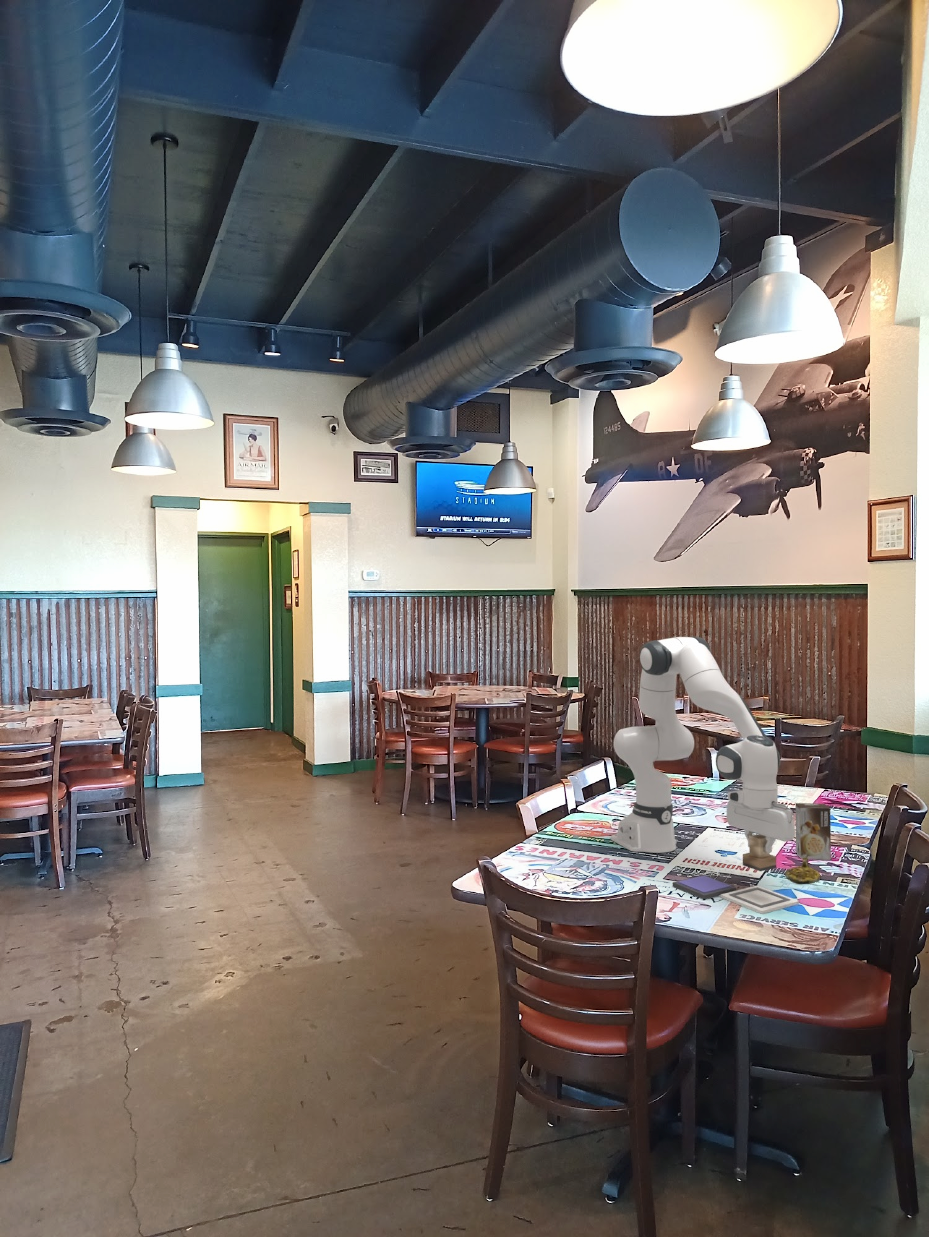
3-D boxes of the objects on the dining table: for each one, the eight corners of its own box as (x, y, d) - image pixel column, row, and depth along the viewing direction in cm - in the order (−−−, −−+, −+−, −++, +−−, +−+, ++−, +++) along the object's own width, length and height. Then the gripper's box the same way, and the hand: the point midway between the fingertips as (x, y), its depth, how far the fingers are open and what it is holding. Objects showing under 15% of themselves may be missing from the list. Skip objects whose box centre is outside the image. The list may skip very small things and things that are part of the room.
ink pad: (672, 886, 243) (672, 881, 243) (704, 879, 249) (704, 874, 249) (704, 899, 233) (704, 894, 233) (736, 891, 239) (736, 886, 239)
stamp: (742, 865, 232) (742, 835, 232) (758, 861, 235) (758, 832, 235) (760, 871, 227) (760, 841, 227) (776, 867, 230) (776, 837, 230)
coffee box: (825, 854, 272) (825, 803, 271) (831, 860, 265) (831, 808, 265) (794, 853, 273) (795, 802, 272) (799, 859, 267) (800, 807, 266)
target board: (720, 897, 234) (720, 893, 234) (757, 888, 241) (757, 884, 241) (761, 914, 222) (762, 910, 222) (799, 904, 229) (799, 900, 229)
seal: (817, 891, 242) (821, 874, 256) (820, 875, 242) (823, 859, 255) (782, 883, 246) (787, 867, 260) (784, 867, 246) (789, 851, 259)
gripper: (800, 804, 223) (800, 858, 224) (739, 789, 241) (739, 839, 241) (783, 807, 220) (783, 862, 221) (722, 792, 238) (722, 842, 238)
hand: (759, 849), depth 231 cm, fingers closed on stamp, 4 cm apart
